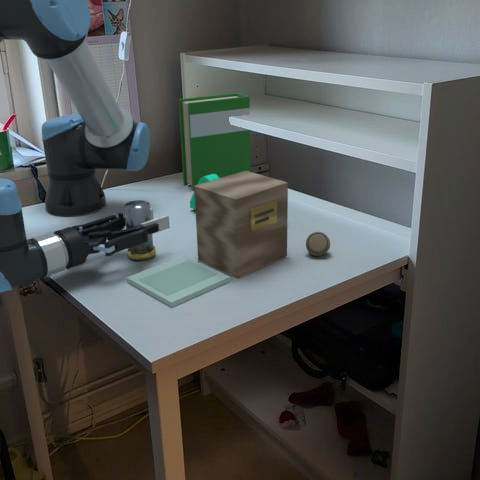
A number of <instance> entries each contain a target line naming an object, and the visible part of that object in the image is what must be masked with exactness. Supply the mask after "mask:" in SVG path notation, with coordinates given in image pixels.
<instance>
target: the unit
mask: <svg viewBox="0 0 480 480" xmlns="http://www.w3.org/2000/svg"><path fill="white" fill-rule="evenodd" d="M288 189H289V182H287V181H283V180H281V179H277V178H273V177H269V176H266V175H262V174H259V173H256V172H249V171H243V172H239V173H236V174H233V175H229V176H226V177H222V178H219V179H216V180H212V181H209V182H205V183H202V184H199V185H195V186H194V192H195V209H194V210H195V225H196V245H197V247H196V248H197V260H198V261H200V262H202V263H203V264H205V265H207V266H210V265H211V267H213V268H214V269H217V270H220V271H221V272H224V273H226V274H228V275H229V276H232V277H235V278H237V279H240V278H241V277H243V276H246V275H248V274H251V273H253V272H255V271H257V270H259V269H262V268H264V267H266V266H268V265H270V264H273V263H275V262H277V261H280V260H282V259H284V258H286V257H288V217H289V216H288V213H289V212H288V209H289V207H288V203H289V202H288V200H289V198H288V197H289V195H288V194H289V190H288ZM194 192H193V193H194Z"/></svg>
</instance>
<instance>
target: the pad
mask: <svg viewBox="0 0 480 480" xmlns="http://www.w3.org/2000/svg"><path fill="white" fill-rule="evenodd" d="M230 282H231V276H230V275H227V274H225V273H223V272H222V271H221V272H220V271H218V269H217V270H216V269H215V268H212V267H210V266H209V265H207V264H205V263H201V262H199V261H197V260H195V259H193V258H190V257H188V256H186V255H181V256H179V257H177V258H174V259H172V260H169V261H165V262H164V263H161V264H158V265H156V266H153V267H151V268H148V269H146V270H142V271H140V272H137V273H135V274H132V275H129V276H127V277H126V283H127V284H130V285H132V286H133V287H135V288H137V289H138V290H140V291H142V292H144V293H146V294H147V295H149V296H151V297H153V298H155V299H156V300H158V301H159V302H162V304H165V305H167V306H168V307H170V308H173V307H176V306H178V305H180V304H182V303H185V302H188V301H189V300H191V299H194V298H196V297H198V296H201V295H203V294H205V293H208V292H210V291H212V290H214V289H217V288H219V287H221V286H223V285H225V284H228V283H230Z"/></svg>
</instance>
